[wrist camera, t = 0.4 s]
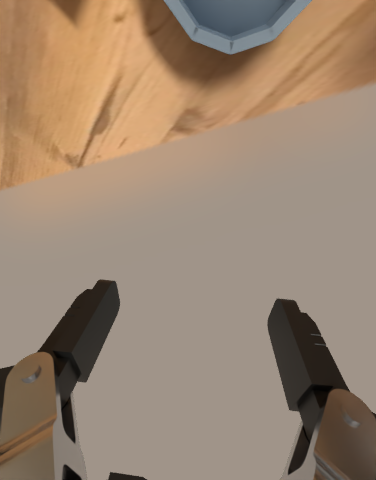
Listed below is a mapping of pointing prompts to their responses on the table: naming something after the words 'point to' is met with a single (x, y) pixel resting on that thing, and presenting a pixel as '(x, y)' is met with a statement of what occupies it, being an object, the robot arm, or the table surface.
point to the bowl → (235, 21)
